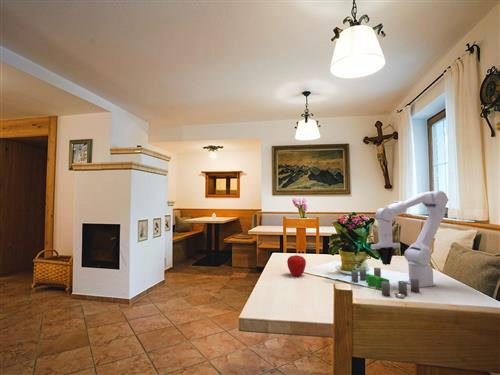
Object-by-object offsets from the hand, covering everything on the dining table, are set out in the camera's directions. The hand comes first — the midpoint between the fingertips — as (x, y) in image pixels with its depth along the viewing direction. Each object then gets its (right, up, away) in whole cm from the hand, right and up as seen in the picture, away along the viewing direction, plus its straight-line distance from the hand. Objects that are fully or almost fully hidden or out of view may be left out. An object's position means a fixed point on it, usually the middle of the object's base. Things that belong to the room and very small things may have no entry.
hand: (386, 264), depth 121 cm
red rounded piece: (-38, -11, +18) cm, 43 cm away
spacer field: (-2, -9, -2) cm, 10 cm away
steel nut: (-3, -9, -15) cm, 18 cm away
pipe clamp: (-6, -10, -2) cm, 12 cm away
